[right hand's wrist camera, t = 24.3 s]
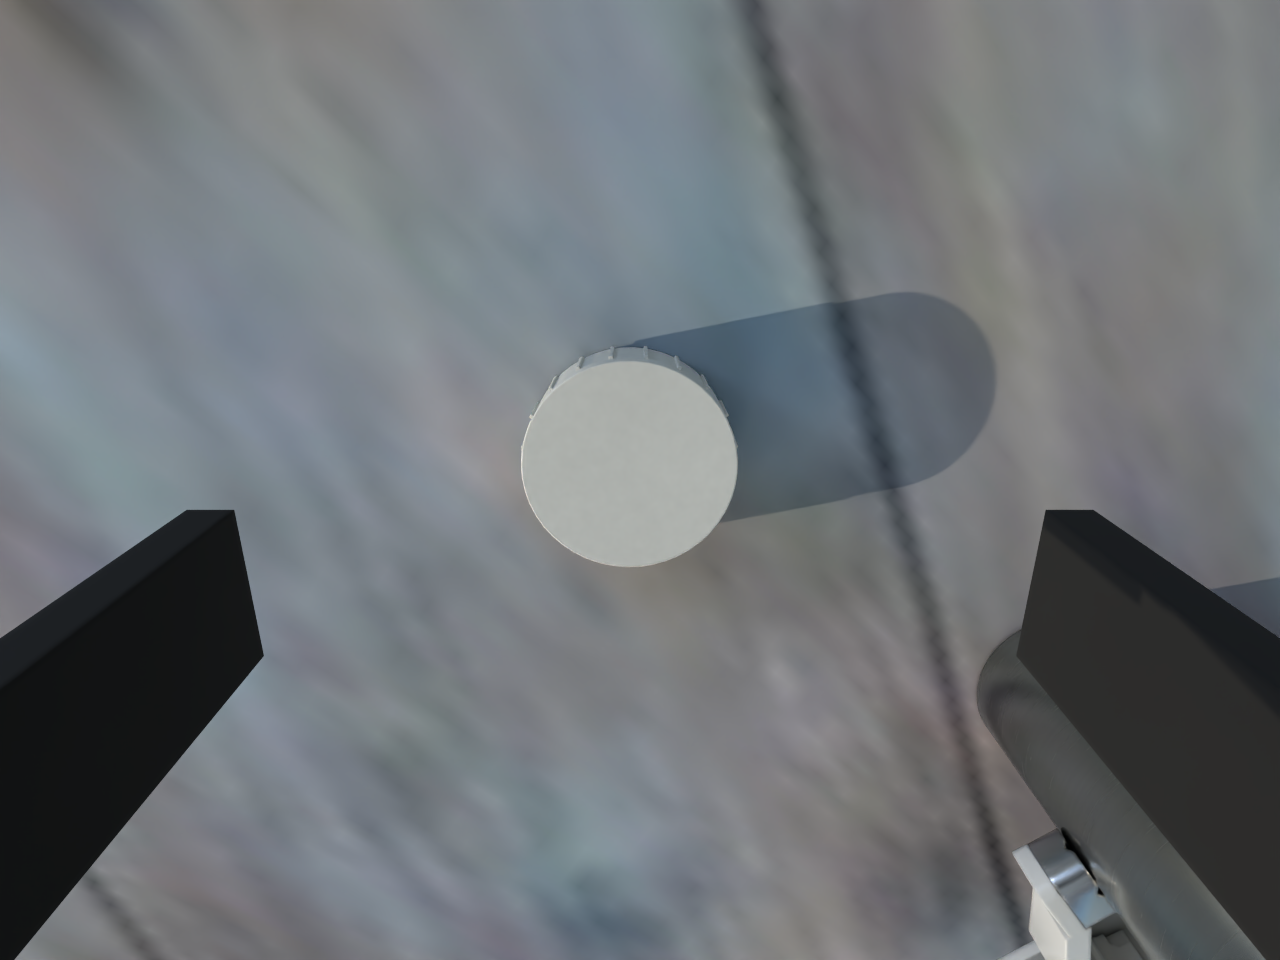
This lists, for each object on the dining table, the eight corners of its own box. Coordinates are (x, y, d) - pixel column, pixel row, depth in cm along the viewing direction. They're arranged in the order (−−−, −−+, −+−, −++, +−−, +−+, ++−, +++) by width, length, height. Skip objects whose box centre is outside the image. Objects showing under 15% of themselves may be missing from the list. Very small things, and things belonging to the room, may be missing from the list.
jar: (960, 645, 26) (1677, 1573, 8) (1120, 594, 25) (2274, 1473, 7) (994, 768, 27) (1650, 1763, 10) (1145, 723, 27) (2137, 1694, 9)
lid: (692, 559, 25) (698, 593, 22) (508, 506, 24) (495, 535, 22) (758, 380, 23) (772, 398, 20) (560, 318, 22) (552, 328, 20)
